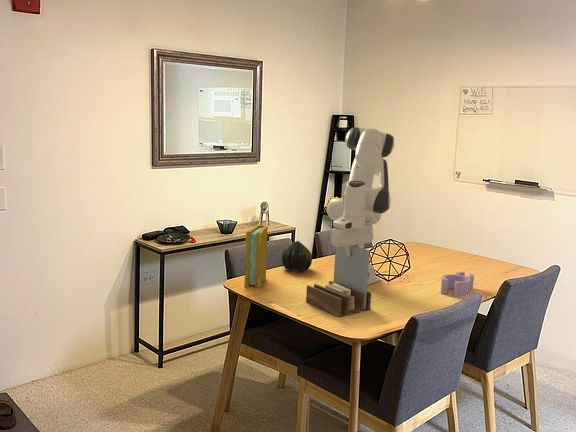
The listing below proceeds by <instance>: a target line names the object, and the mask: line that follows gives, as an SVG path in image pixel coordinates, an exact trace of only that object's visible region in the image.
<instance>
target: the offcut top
mask: <svg viewBox="0 0 576 432" xmlns="http://www.w3.org/2000/svg"><path fill="white" fill-rule="evenodd" d="M324 287H325V288H328V289H330V290H333V291H335V292H337V293H340V294H342V295H345V296H347V297H348V296H351V290H350V289H347V288H345V287H343V286H340V285H338V284H336V283H334V284H329V283H328V284H325V286H324Z"/></svg>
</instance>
